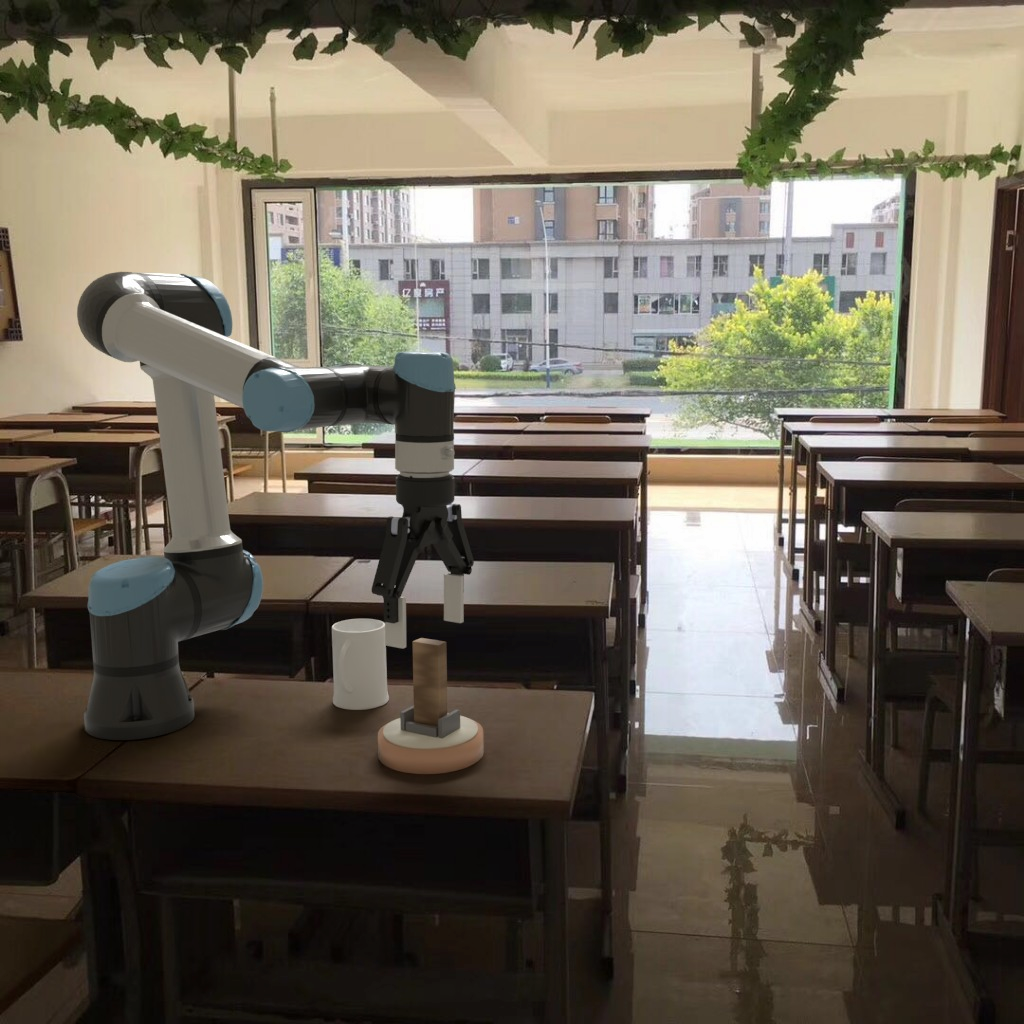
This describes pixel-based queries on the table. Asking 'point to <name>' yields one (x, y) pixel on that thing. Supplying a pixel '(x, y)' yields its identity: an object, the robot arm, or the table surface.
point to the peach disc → (430, 744)
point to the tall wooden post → (429, 681)
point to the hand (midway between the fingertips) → (425, 633)
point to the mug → (359, 664)
